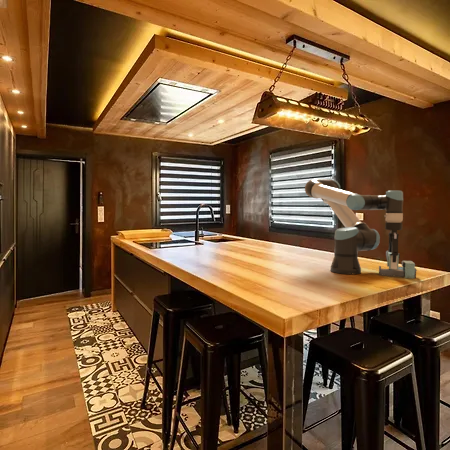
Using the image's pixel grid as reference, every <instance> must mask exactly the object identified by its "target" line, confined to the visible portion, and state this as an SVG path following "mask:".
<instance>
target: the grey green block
mask: <svg viewBox="0 0 450 450" xmlns="http://www.w3.org/2000/svg"><path fill="white" fill-rule="evenodd" d="M390 254H392V253H391V252H389V251H388V254H387V258H386V261H387V263H386V266H387V267H388V269H391V255H390ZM400 256H401V255H400V253H399V252H398V255H397V269H398V267H399V262H400V261H399V259H401V257H400Z"/></svg>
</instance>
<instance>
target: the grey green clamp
mask: <svg viewBox="0 0 450 450" xmlns="http://www.w3.org/2000/svg"><path fill="white" fill-rule="evenodd" d="M401 267H403V270H397V269H389V268H382V266H381V265H378V275H379V276H383V277H394V278H395V277H396V278H405V279H414V280H415V279H416V278H417V271H416V270H417V268H416V264H415V262H413V261H412V260H402V261H401Z"/></svg>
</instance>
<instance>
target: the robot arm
mask: <svg viewBox="0 0 450 450" xmlns="http://www.w3.org/2000/svg"><path fill="white" fill-rule="evenodd" d="M304 191H305V194H306V195H307V196H308V197H310V198H314V199H321V200H322V201H323V203H324V204H326V205H327V204H328V206H329V207H330V209H331V210H332V211H333V213H334V214H335V215H336V217H337V218H338V219H339V221H340V223H342V225H343V226H344V227H339V228H337V229H336V230H334V236H333V237H334V242H333V243H334V245H333V246H334V249H333V250H334V256H333V260H332V262H331V265H330V272H332V273H336V274H343V275H359V274H361V272H362V268H361V264H360V261H359V258H358V255H359V254H358V253H359V252H363V251H367V252H368V251H373V250H375V249H377V248H378V247H379V244H380V242H381V241H380V240H381V236H380V234H379V232H378V230H376V229H375V228H370V227H369V225H368V224H367V223H366V222H362V221H361V220H360V219H359V217H358V216H357V215H356V213H355V212H354V211H382V210H384V211H385V214H384V218H385V223H384V225H385V226H384V228H385V230H387V231H389V233H388V250H387V251H388V252H391V253H392V254H390V255H391V269H397V255H398V253H399V236H400V235H399V233H398V231H402V230H403V219H404V217H403V216H404V213H403V208H404V207H403V206H404V191H402V190H387V191H385V194H384V195H380V194H378V195H375V194H374V195H371V194H360V193H359V194H358V193H356V192H355V193H354V192H351V191H348V190H343V189H341V185H340V183H339V182H338V180H335V179H331V178H327V179H326V178H325V179H324V178H323V179H322V178H312V179H310V180H308V181H307V182H306V184H305V185H304Z"/></svg>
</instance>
